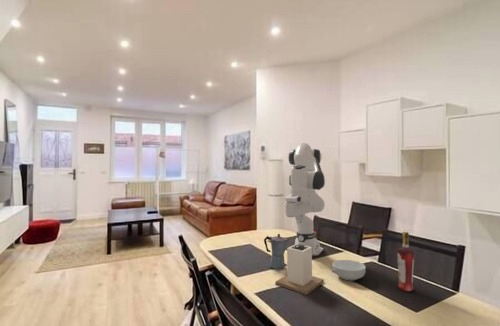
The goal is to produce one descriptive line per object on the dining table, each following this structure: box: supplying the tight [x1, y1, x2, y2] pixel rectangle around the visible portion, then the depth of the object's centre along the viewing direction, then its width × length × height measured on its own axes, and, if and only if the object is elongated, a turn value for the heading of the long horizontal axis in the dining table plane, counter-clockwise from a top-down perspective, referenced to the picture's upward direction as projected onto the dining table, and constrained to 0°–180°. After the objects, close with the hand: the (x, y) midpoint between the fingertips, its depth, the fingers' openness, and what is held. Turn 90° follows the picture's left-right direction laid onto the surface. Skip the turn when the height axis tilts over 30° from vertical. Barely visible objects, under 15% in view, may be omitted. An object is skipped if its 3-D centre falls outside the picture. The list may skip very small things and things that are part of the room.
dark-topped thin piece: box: [294, 244, 304, 251], centre depth 148 cm, size 6×6×17 cm
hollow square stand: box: [274, 243, 325, 295], centre depth 148 cm, size 18×18×18 cm
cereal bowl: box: [332, 259, 367, 282], centre depth 155 cm, size 17×17×7 cm
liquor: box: [396, 231, 415, 293], centre depth 140 cm, size 7×7×28 cm
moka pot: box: [263, 233, 290, 271], centre depth 171 cm, size 10×15×20 cm, turn 78°
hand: (299, 223), depth 148 cm, fingers closed
